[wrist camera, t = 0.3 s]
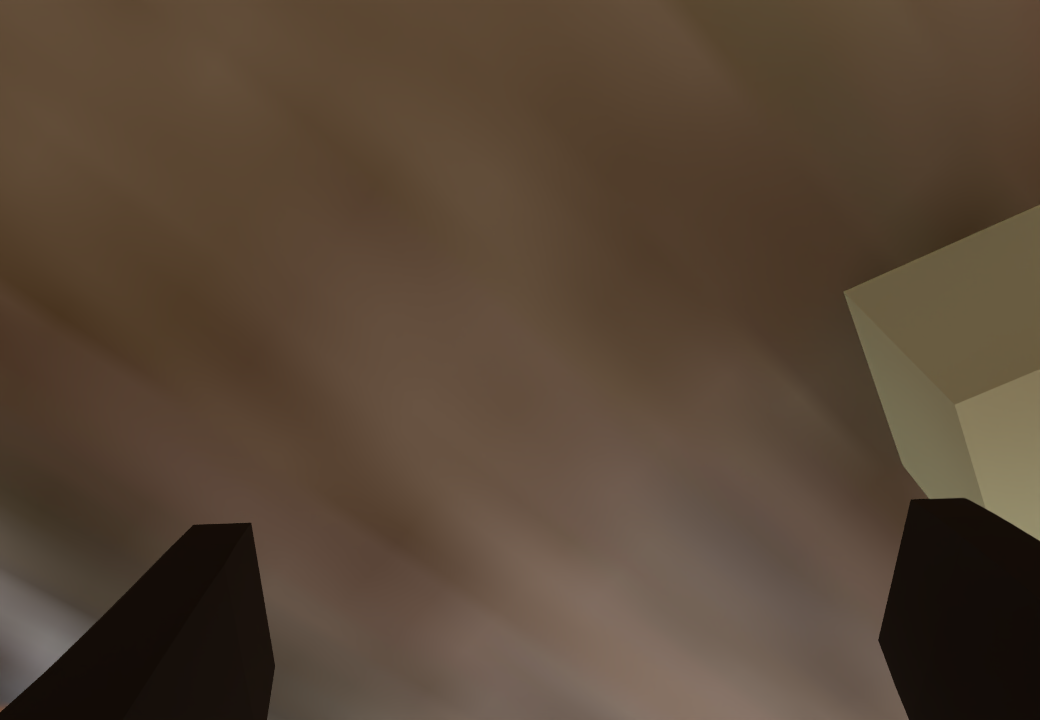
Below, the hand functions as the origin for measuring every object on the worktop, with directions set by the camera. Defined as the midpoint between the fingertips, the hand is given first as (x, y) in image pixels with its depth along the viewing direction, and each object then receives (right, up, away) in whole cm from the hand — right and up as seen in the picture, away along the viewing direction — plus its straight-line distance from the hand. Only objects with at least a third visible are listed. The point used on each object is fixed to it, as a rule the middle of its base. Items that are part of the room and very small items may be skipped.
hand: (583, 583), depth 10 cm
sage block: (+10, +3, +10) cm, 14 cm away
